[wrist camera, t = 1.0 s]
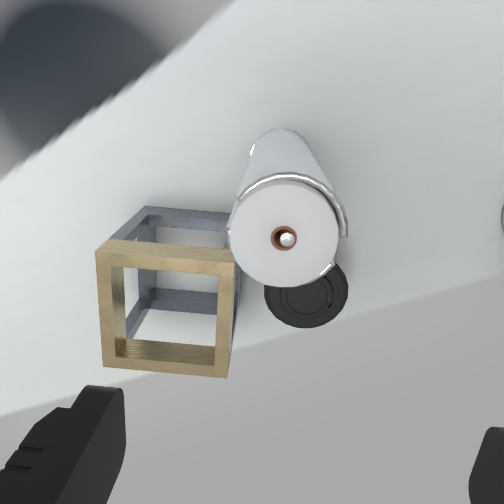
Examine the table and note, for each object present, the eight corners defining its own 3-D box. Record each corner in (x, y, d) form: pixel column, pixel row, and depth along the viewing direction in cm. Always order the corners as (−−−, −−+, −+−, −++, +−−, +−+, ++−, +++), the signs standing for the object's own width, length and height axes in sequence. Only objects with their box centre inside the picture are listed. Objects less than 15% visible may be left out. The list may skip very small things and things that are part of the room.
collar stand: (245, 214, 47) (234, 263, 34) (238, 304, 51) (226, 378, 38) (144, 206, 47) (95, 251, 34) (146, 295, 51) (103, 366, 38)
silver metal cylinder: (276, 202, 46) (279, 318, 23) (237, 157, 44) (197, 232, 21) (323, 163, 44) (378, 247, 21) (284, 115, 43) (296, 147, 19)
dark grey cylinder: (338, 284, 49) (354, 329, 40) (271, 293, 50) (270, 339, 41) (332, 219, 46) (346, 251, 37) (260, 229, 47) (257, 264, 38)
